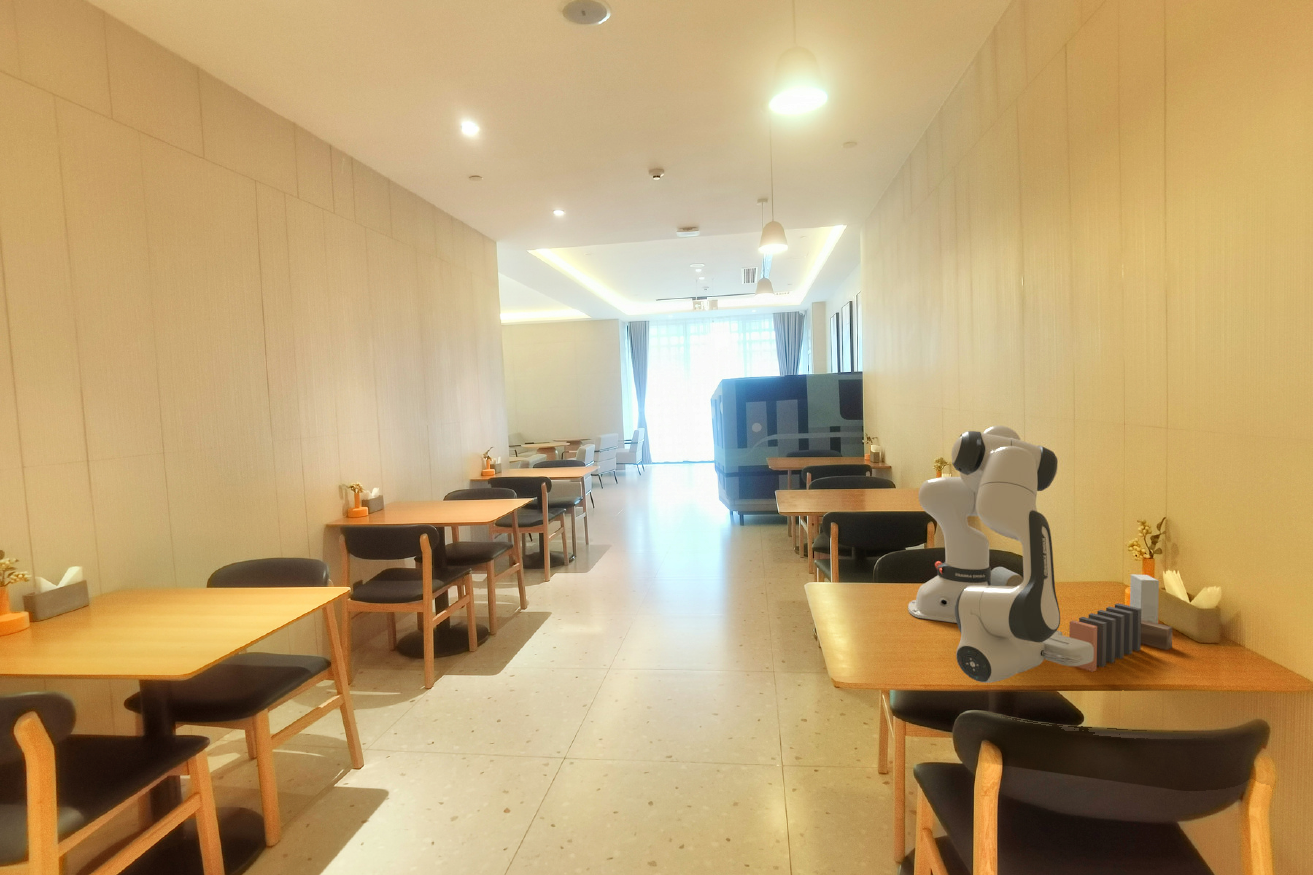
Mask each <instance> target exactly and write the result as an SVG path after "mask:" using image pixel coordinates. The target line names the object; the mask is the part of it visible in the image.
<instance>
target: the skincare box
mask: <svg viewBox="0 0 1313 875" xmlns="http://www.w3.org/2000/svg"><path fill="white" fill-rule="evenodd" d="M1129 587H1130V588H1129V590H1130V592H1129V594H1130V595H1129V596H1130V597H1129V599H1130V600H1129V606H1132V607H1136V608H1141V620H1145V621H1150V622H1154V623H1158V624H1159V597H1160V596H1159V595H1160V594H1159V593H1160V591H1159V590H1160V589H1159V588H1160V580H1158V579H1156V578H1154V577H1152V576H1150V575H1148V574H1130V586H1129Z"/></svg>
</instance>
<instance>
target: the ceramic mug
mask: <svg viewBox="0 0 1313 875" xmlns="http://www.w3.org/2000/svg"><path fill="white" fill-rule="evenodd" d="M1023 580H1024V577H1023V576H1021V575H1020V574H1018V573H1017V572H1014V571H1012V570H1010V569H1007V568H1006V567H1003V566H997V567H994V568H993V569H992V570H991V585H990V586H1018V585H1020V584H1021V583H1022V582H1023Z"/></svg>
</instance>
